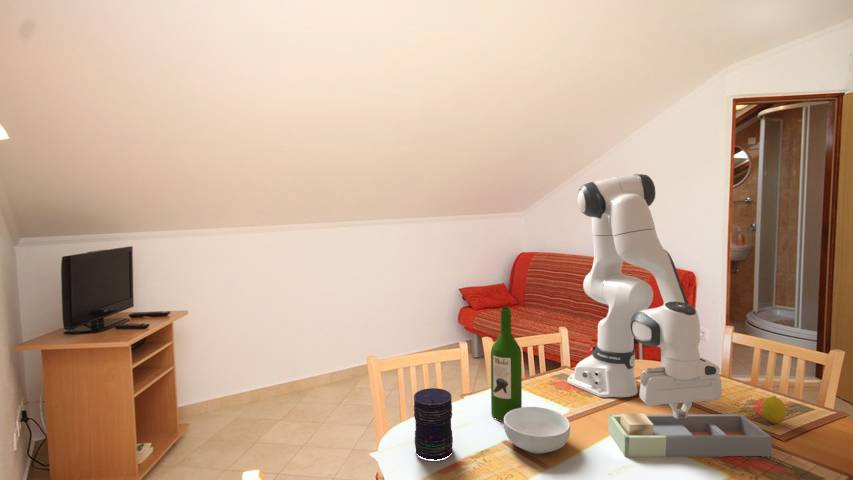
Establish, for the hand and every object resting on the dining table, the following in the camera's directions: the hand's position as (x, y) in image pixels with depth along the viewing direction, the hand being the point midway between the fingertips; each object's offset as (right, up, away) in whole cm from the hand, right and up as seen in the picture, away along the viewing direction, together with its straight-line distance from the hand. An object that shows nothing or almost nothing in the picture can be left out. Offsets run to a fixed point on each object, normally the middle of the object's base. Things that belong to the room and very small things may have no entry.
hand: (680, 417), depth 124 cm
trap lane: (+2, -7, 0) cm, 7 cm away
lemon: (+31, -6, +10) cm, 33 cm away
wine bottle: (-42, -6, +18) cm, 46 cm away
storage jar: (-64, -9, -1) cm, 65 cm away
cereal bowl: (-37, -8, +1) cm, 38 cm away
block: (-11, -4, 0) cm, 12 cm away
